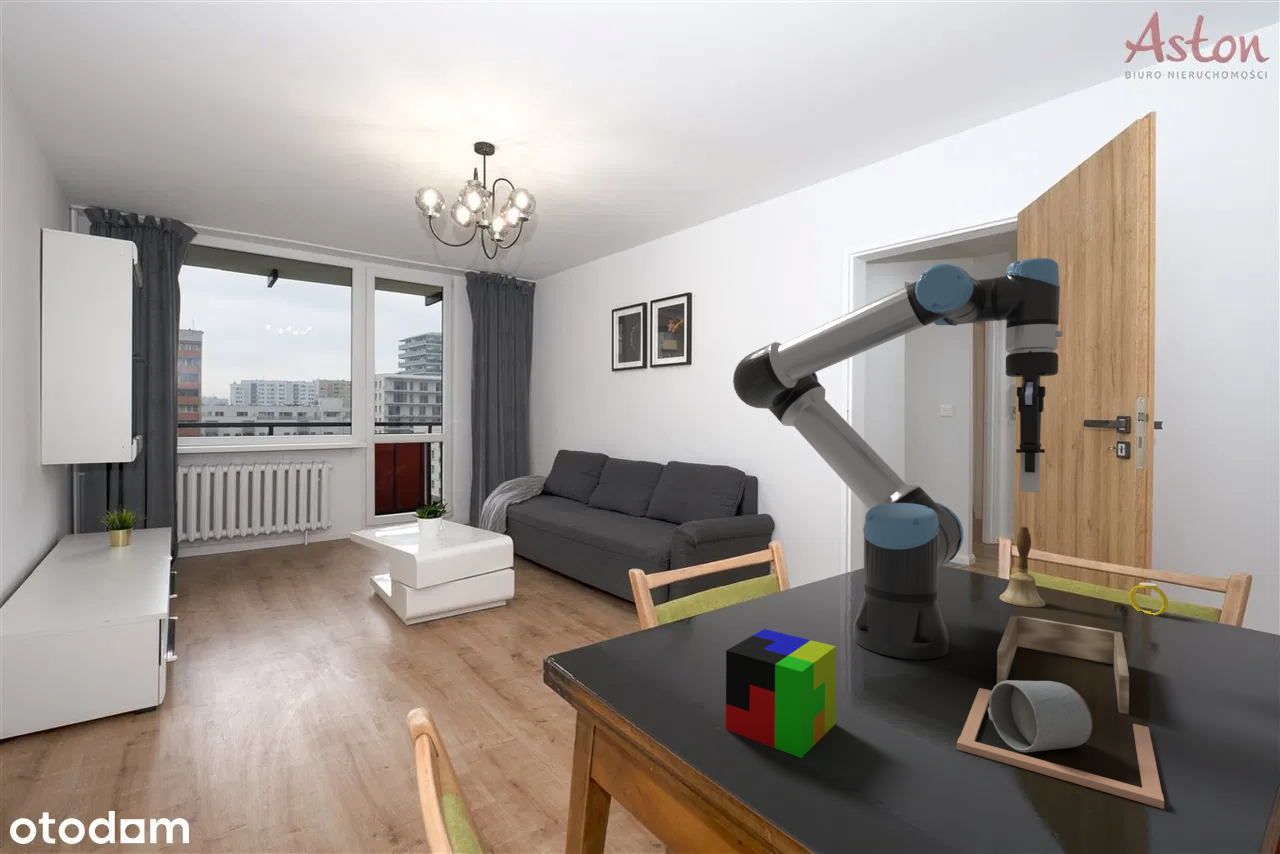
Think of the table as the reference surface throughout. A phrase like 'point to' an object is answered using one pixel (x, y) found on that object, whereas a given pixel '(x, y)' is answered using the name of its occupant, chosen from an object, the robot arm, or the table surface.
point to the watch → (1154, 587)
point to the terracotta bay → (1145, 755)
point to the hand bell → (1022, 577)
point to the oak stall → (1065, 647)
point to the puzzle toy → (781, 690)
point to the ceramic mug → (1039, 715)
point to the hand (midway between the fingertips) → (1030, 491)
